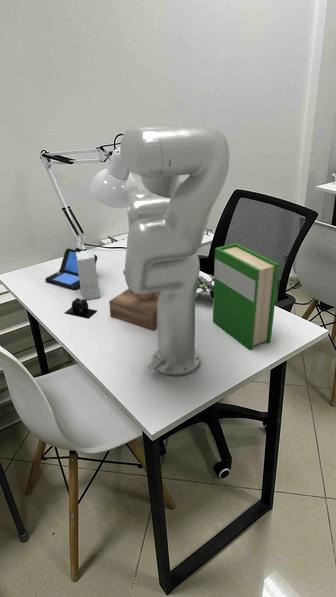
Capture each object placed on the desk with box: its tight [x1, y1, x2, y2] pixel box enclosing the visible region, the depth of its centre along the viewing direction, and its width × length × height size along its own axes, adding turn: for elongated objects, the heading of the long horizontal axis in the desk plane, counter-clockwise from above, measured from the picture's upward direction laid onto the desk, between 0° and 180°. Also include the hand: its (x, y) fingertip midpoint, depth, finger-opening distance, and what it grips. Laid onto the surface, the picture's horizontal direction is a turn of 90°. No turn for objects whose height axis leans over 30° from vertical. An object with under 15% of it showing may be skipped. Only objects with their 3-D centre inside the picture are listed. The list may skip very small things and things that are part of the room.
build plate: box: [63, 297, 98, 320], centre depth 137 cm, size 12×7×5 cm, turn 67°
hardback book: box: [212, 242, 280, 352], centre depth 120 cm, size 18×7×24 cm, turn 29°
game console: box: [45, 248, 98, 291], centre depth 158 cm, size 16×14×9 cm
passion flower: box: [195, 273, 214, 301], centre depth 141 cm, size 11×11×12 cm
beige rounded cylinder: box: [137, 293, 153, 301], centre depth 133 cm, size 5×5×6 cm
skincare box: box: [76, 249, 101, 301], centre depth 146 cm, size 8×6×15 cm
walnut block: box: [108, 288, 161, 332], centre depth 136 cm, size 16×16×6 cm
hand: (144, 286), depth 133 cm, fingers open, 9 cm apart
